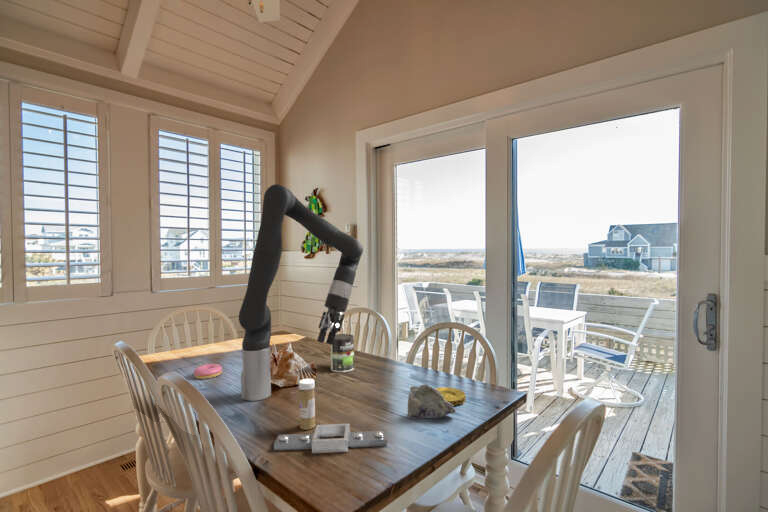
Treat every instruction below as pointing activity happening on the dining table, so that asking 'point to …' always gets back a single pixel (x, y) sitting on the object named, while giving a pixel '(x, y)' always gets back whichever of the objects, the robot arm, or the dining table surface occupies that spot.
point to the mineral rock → (427, 403)
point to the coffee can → (342, 353)
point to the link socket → (330, 444)
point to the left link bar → (293, 442)
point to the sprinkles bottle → (307, 404)
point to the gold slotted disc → (452, 395)
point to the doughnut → (208, 371)
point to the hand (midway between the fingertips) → (324, 343)
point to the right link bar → (367, 439)
